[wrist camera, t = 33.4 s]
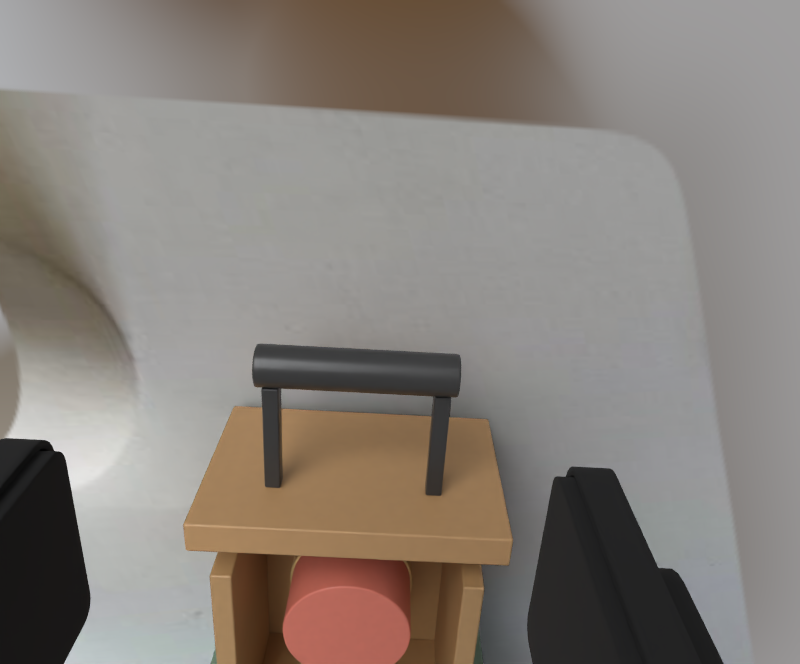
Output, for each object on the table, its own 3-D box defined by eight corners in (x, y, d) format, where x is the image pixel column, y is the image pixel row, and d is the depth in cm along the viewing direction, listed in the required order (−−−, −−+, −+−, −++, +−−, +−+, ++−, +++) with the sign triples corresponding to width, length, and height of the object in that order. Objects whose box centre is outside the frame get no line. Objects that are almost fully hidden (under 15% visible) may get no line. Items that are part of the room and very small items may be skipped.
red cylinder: (300, 481, 31) (278, 581, 25) (415, 486, 31) (417, 588, 26) (300, 568, 33) (280, 677, 28) (408, 573, 33) (409, 683, 28)
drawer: (227, 285, 28) (168, 377, 21) (504, 300, 28) (537, 396, 21) (245, 624, 36) (207, 773, 29) (460, 633, 36) (473, 783, 29)
